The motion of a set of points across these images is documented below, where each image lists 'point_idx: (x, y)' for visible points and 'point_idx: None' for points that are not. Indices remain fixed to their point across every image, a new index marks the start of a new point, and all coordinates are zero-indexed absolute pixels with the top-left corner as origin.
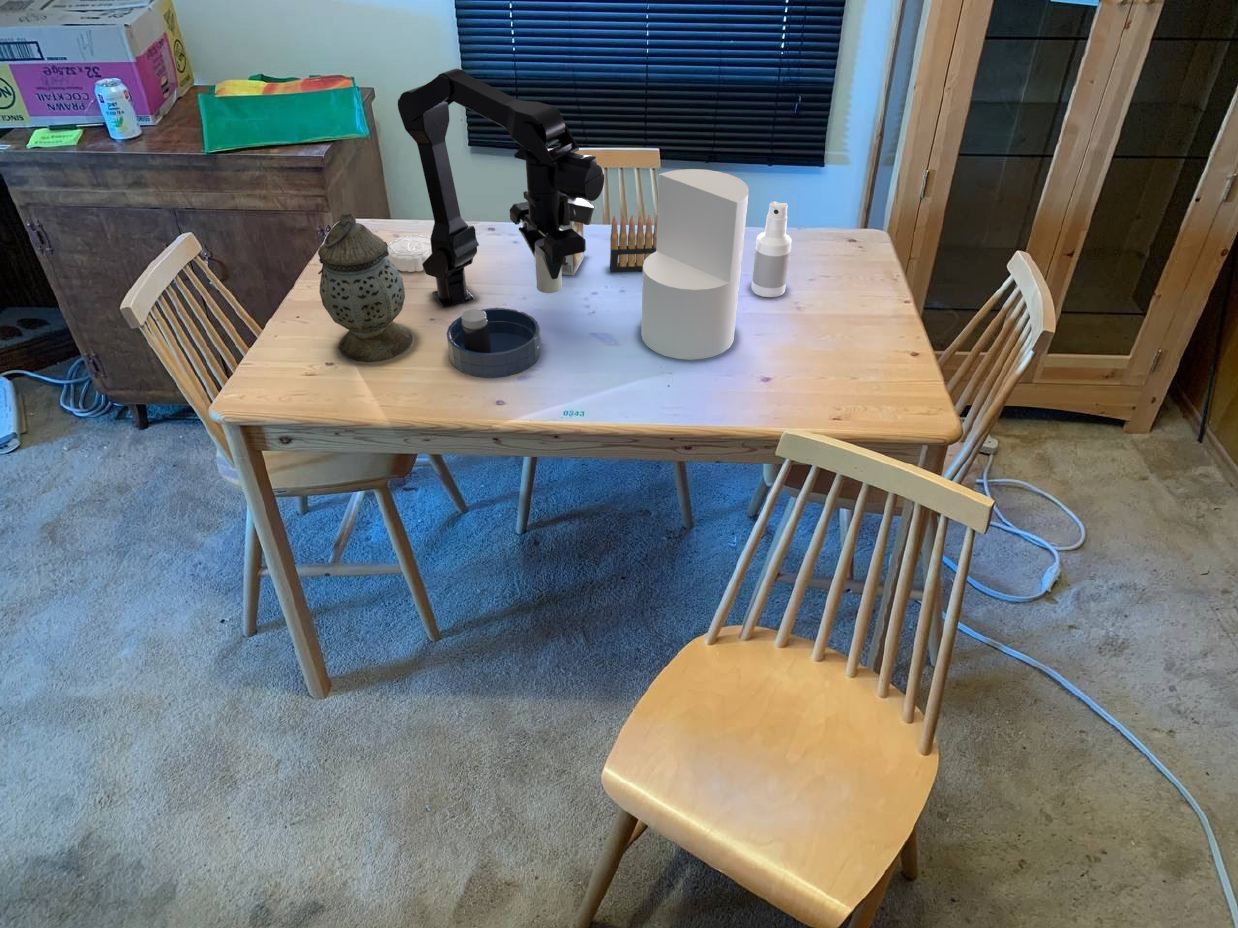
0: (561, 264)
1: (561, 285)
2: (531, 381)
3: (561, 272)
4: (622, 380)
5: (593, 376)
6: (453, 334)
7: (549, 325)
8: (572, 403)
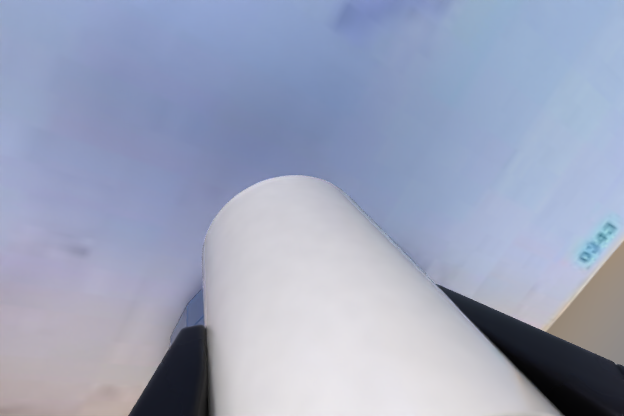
0: (587, 356)
1: (353, 200)
2: (455, 291)
3: (375, 232)
4: (601, 79)
5: (537, 146)
6: None
7: (202, 151)
8: (573, 234)
